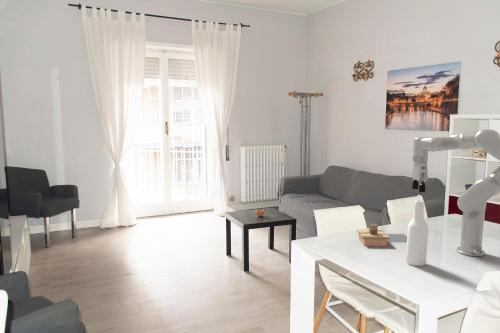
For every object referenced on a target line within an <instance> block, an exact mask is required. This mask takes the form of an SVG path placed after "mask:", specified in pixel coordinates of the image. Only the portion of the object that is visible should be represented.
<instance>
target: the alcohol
mask: <svg viewBox="0 0 500 333" xmlns="http://www.w3.org/2000/svg"><path fill="white" fill-rule="evenodd" d="M424 203H425V201H424V200H421V199H416V200H414V208H413V213H412V214H413V215H412V219H411V220H410V221H409V222H408V225H407V235H406V236H407V242H406V253H405V254H406V255H405V261H406V263H407V264H408V265H410V266H413V267H425V265H426V264H427V256H428V255H427V253H428V236H429V226H428V223H427V222H426V221H425V219H424V218H425V211H424V205H425V204H424Z"/></svg>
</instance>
